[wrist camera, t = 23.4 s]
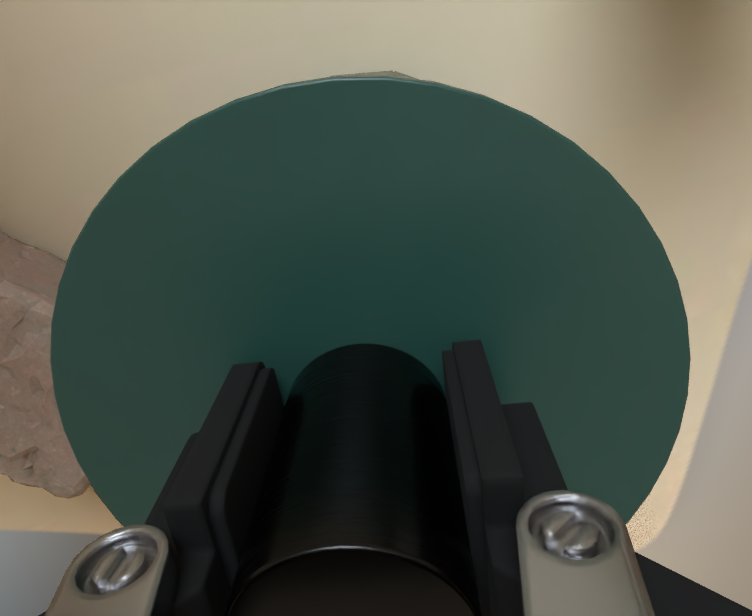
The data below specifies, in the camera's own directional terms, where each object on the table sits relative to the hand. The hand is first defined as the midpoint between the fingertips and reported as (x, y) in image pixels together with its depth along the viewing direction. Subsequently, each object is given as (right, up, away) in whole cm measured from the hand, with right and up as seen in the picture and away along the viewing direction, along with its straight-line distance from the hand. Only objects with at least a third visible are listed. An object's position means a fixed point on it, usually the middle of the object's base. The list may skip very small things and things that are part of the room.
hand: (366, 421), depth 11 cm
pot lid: (0, 0, +1) cm, 1 cm away
